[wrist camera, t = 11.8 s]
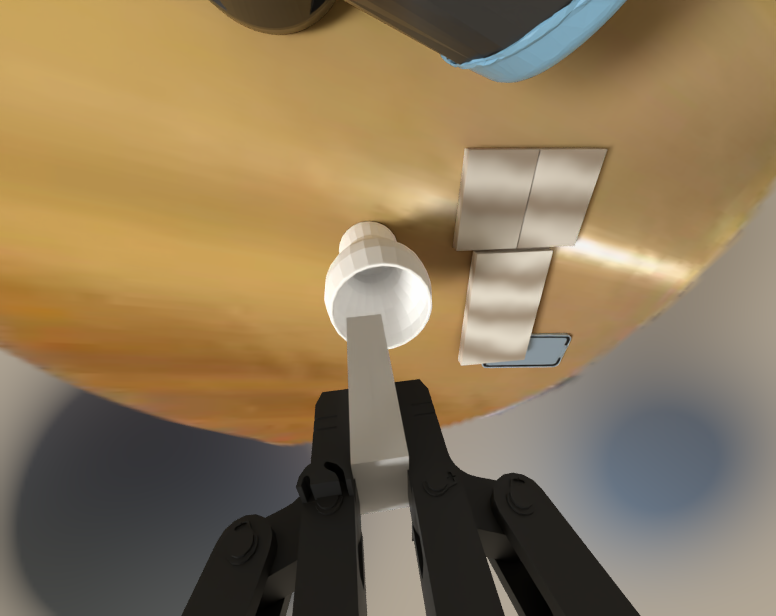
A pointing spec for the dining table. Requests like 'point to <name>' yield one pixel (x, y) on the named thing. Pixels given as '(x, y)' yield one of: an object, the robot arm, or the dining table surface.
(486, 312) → the silvery beige flat slab
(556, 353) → the smartphone
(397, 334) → the cup
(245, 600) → the robot arm
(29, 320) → the dining table surface
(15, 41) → the dining table surface
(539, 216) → the laid floor
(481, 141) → the dining table surface
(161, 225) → the dining table surface
